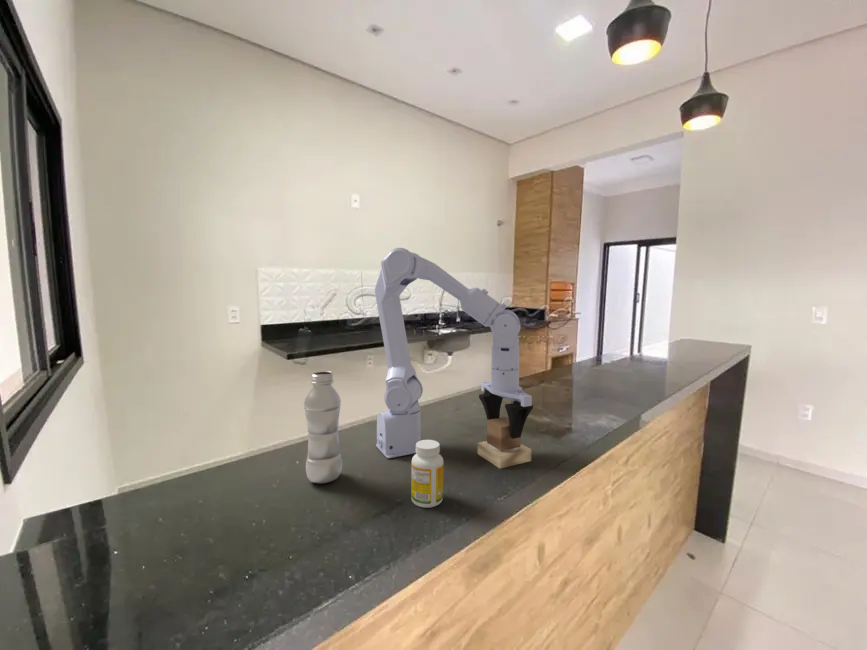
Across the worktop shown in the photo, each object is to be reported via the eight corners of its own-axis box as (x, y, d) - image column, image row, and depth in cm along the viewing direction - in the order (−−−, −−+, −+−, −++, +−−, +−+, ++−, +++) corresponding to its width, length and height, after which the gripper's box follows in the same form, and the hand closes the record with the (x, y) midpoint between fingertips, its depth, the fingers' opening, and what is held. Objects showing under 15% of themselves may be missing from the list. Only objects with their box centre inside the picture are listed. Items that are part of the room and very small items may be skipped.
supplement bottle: (417, 511, 60) (417, 452, 59) (406, 495, 65) (406, 440, 64) (448, 504, 62) (448, 447, 61) (435, 489, 67) (436, 436, 66)
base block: (499, 468, 75) (500, 454, 75) (477, 453, 82) (477, 441, 82) (531, 460, 79) (531, 447, 78) (507, 447, 86) (507, 435, 85)
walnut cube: (501, 451, 77) (501, 426, 76) (486, 442, 81) (487, 419, 81) (520, 446, 79) (520, 423, 79) (505, 438, 83) (506, 416, 83)
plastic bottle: (350, 476, 71) (348, 372, 70) (322, 492, 66) (320, 378, 64) (325, 468, 75) (323, 368, 73) (297, 482, 69) (295, 374, 68)
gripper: (544, 372, 74) (542, 439, 75) (499, 361, 87) (498, 419, 88) (516, 375, 71) (514, 445, 72) (473, 363, 84) (473, 423, 85)
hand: (504, 431), depth 80 cm, fingers open, 7 cm apart
